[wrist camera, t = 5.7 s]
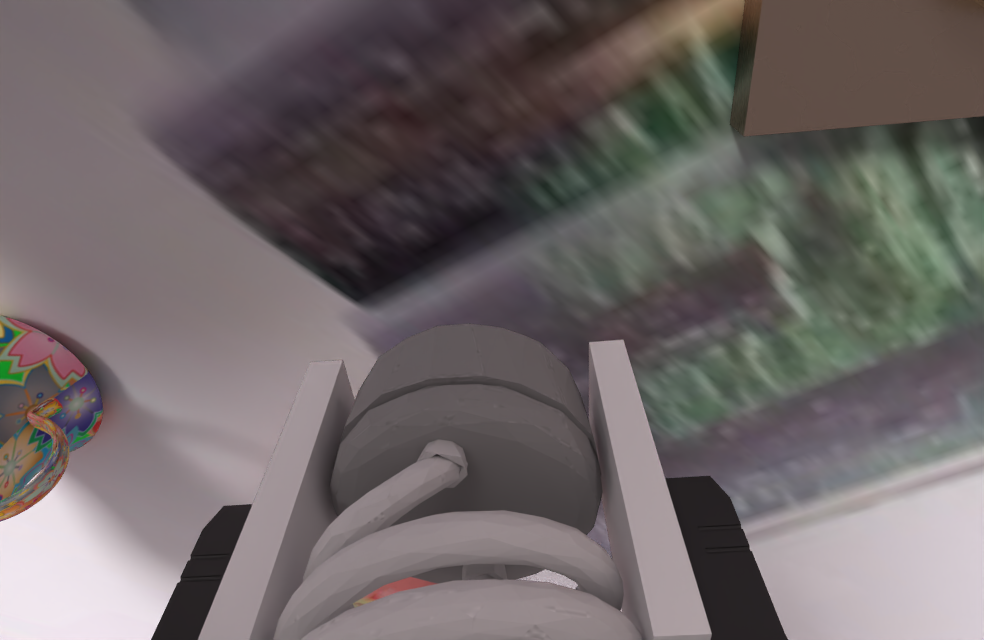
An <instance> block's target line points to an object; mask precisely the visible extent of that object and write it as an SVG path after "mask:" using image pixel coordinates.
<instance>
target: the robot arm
mask: <svg viewBox="0 0 984 640" xmlns="http://www.w3.org/2000/svg"><path fill="white" fill-rule="evenodd" d="M354 402H355V400H354V396H353V393H352V390H351V386H350V383H349V379H348V376H347V373H346V369H345V366H344V362H343V360H332V361H318V362H310V364H309V366H308V369H307V371H306V374H305V376H304V379H303V381H302V384H301V386H300V388H299V391H298V393H297V396H296V398H295V401H294V403H293V406H292V408H291V411H290V413H289V416H288V418H287V421H286V423H285V426H284V428H283V430H282V433H281V435H280V438H279V440H278V443H277V445H276V448H275V450H274V453H273V455H272V458H271V460H270V463H269V465H268V467H267V470H266V472H265V475H264V477H263V480H262V482H261V485H260V487H259V490H258V492H257V495H256V497H255V500H254V502H253V504H249V505H232V506H223V508H222V509H221V510H220V511H219V512H218V513H217V514H216V515H215V516H214V518H213V519H212V520H211V521H210V522H209V523H208V524H207V525H206V526H205V528H204V529H203V530H202V532H201V534H200V537H199V539H198V541H197V543H196V545H195V547H194V549H193V551H192V554H191V560H190V561H188V562H187V564H186V566H185V569H184V571H183V573H182V575H181V581H180V583H177V586H176V588H175V590H174V592H173V594H172V596H171V598H170V600H169V603H168V605H167V607H166V609H165V611H164V613H163V615H162V618H161V620H160V622H159V624H158V626H157V628H156V630H155V632H154V635H153V637H152V639H151V640H273V639H274V635H275V631H276V627H277V624H278V620H279V618H280V616H281V614H282V612H283V611H284V609H285V607H286V605H287V603H288V602H289V600H290V598H291V596H292V595H293V594H294V592H295V591H296V590H297V589H298V588H299V587H300V586H301V584H302V583H303V576H304V573H305V570H306V567H307V564H308V561H309V558H310V555H311V552H312V549H313V548H314V546H315V545H316V543H317V542H318V540H319V539H320V538H321V536H322V535H323V533H324V532H325V530H326V529H327V527H328V526H329V525H330V524H331V523H332V522H333V521H334V520H335V519H336V518H337V515H336V513H335V510H334V508H333V506H332V500H331V491H330V482H331V478H332V474H333V464H334V461H335V457H336V454H337V451H338V447H339V444H340V440H341V437H342V434H343V430H344V427H345V424H346V422H347V419H348V417H349V414H350V412H351V409H352V407H353V404H354ZM589 423H590V426H591V429H592V433H593V436H594V440H595V445H596V450H597V455H598V460H599V465H600V470H601V482H602V489H603V493H602V497H601V498H602V504H603V509H604V515H605V520H606V526H607V531H608V537H609V542H610V548H611V553H612V559H613V561H614V562H615V564H616V567H617V569H618V571H619V573H620V576H621V578H622V580H623V590H624V596H623V603H622V607H621V608H622V613H623V614H624V615H625V616H626V617H627V618H628V619H629V620H630V621H631V622H632V623H633V624H634V625H635V627H636V628H637V629H638V631H639V633H640V635H641V637H642V640H788V638H787V637H786V635H785V633H784V631H783V628H782V626H781V623H780V621H779V618H778V616H777V613H776V611H775V608H774V606H773V603H772V601H771V598H770V596H769V593H768V591H767V588H766V586H765V583H764V581H763V578H762V576H761V573H760V571H759V568H758V566H757V563H756V561H755V558H754V556H753V553H752V551H750V549H749V543H748V541H747V539H746V536H745V534H744V531H743V529H741V524H740V521H739V519H738V516H737V514H736V511H735V509H734V506H733V504H732V501H731V499H730V497H729V496H728V495H727V494H726V493H725V492H724V491H723V490H722V489H721V487H720V486H719V485H718V484H717V483H716V482H715V481H714V480H713V479H712V478H711V477H710V476H699V477H682V478H665V477H664V473H663V470H662V467H661V463H660V460H659V457H658V453H657V450H656V447H655V443H654V440H653V437H652V433H651V430H650V427H649V424H648V420H647V417H646V414H645V410H644V407H643V404H642V400H641V397H640V394H639V390H638V387H637V384H636V380H635V377H634V374H633V370H632V367H631V364H630V360H629V357H628V354H627V350H626V347H625V344H624V340H613V341H599V342H589Z"/></svg>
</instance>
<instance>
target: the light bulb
mask: <svg viewBox="0 0 984 640" xmlns="http://www.w3.org/2000/svg"><path fill="white" fill-rule="evenodd" d="M330 491H331V500H332V506H333V508H334V510H335V513H336V515H337V518H336V519H335V520H334V521H333V522H332V523H331V524H330V525H329V526H328V527H327V529H326V530H325V532H324V533H323V535H322V536H321V538H320V539H319V540H318V542H317V543H316V545H315V546H314V548H313V549H312V552H311V555H310V558H309V561H308V564H307V567H306V570H305V573H304V576H303V583H302V584H301V586H300V587H299V588H298V589H297V590H296V591H295V592H294V594H293V595H292V596H291V598H290V600H289V602H288V603H287V605H286V607H285V609H284V611H283V612H282V614H281V616H280V618H279V620H278V624H277V627H276V631H275V635H274V639H273V640H642V637H641V635H640V633H639V631H638V629H637V628H636V627H635V625H634V624H633V623H632V622H631V621H630V620H629V619H628V618H627V617H626V616H625V615H624V614H623V613H622V612H621V611H620V610H621V607H622V603H623V596H624V590H623V580H622V578H621V576H620V573H619V571H618V569H617V567H616V564H615V562H614V561H613V560H612V558H611V557H610V556H609V554H608V553H607V552H606V550H605V549H604V548H603V547H601V546H600V545H599V544H597V543H596V542H594V541H593V540H592V539H590V538H589V537H588V536H586V535H587V534H588V533H589V532H590V531H591V530H592V528H593V527H594V524H595V520H596V516H597V512H598V508H599V505H600V501H601V497H602V493H603V489H602V482H601V470H600V465H599V460H598V455H597V450H596V445H595V440H594V436H593V433H592V429H591V426H590V423H589V420H588V417H587V414H586V410H585V407H584V404H583V401H582V398H581V394H580V392H579V390H578V388H577V386H576V384H575V382H574V380H573V378H572V376H571V373H570V371H569V369H568V368H567V367H566V366H565V365H564V364H563V363H562V362H561V361H560V360H559V359H557V358H556V357H555V356H554V355H553V354H552V353H551V352H550V351H549V350H548V349H547V348H546V347H545V346H544V345H543V344H542V343H540V342H538V341H536V340H534V339H531V338H529V337H527V336H525V335H522V334H519V333H516V332H513V331H510V330H507V329H504V328H501V327H494V326H486V325H478V324H457V325H443V326H436V327H433V328H431V329H428V330H426V331H423V332H421V333H418V334H416V335H413V336H411V337H408V338H406V339H405V340H403V341H402V342H400V343H399V344H397V345H396V346H395V347H393V348H392V349H390V350H389V351H387V352H386V353H384V354H383V355H381V356H380V357H379V358H378V360H377V361H376V363H375V365H374V366H373V368H372V370H371V371H370V373H369V375H368V376H367V378H366V380H365V381H364V383H363V385H362V386H361V388H360V390H359V392H358V394H357V397H356V399H355V402H354V404H353V407H352V409H351V412H350V414H349V417H348V419H347V422H346V424H345V427H344V430H343V434H342V437H341V440H340V444H339V447H338V451H337V454H336V457H335V461H334V464H333V474H332V478H331V482H330ZM544 569H547V570H550V571H553V572H556V573H559V574H562V575H564V576H566V577H568V578H569V579H571V580H573V581H575V582H576V583H577V584H578V586H577V588H576V589H575V590H574V589H571V588H567V587H564V586H560V585H557V584H553V583H549V582H539V581H527V580H516V579H519V578H523V577H526V576H530V575H533V574H536V573H538V572H540V571H542V570H544ZM408 577H413V578H417V579H421V580H425V581H429V582H432V583H436V584H434V585H429V586H424V587H419V588H414V589H409V590H404V591H399V592H397V593H394V594H391V595H388V596H386V597H383V598H380V599H377V600H375V601H372V602H369V603H366V604H364V605H361V606H358V607H354V605H353V603H355V602H356V601H358V600H360V599H361V598H363V597H365V596H367V595H368V594H370V593H372V592H373V591H375V590H377V589H379V588H380V587H382V586H384V585H386V584H389V583H393V582H396V581H399V580H402V579H405V578H408Z"/></svg>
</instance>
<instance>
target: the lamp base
mask: <svg viewBox="0 0 984 640" xmlns="http://www.w3.org/2000/svg"><path fill="white" fill-rule="evenodd" d="M980 116H984V0H745V6H744V14H743V22H742V30H741V39H740V47H739V55H738V63H737V71H736V79H735V87H734V96H733V104H732V112H731V120H730V125H731V126H732V127H733V128H734V129H736V130H737V131H738V132H739V133H740V134H741V135H743V136H755V135H767V134H779V133H791V132H803V131H814V130H826V129H838V128H850V127H862V126H874V125H886V124H897V123H909V122H921V121H933V120H945V119H957V118H968V117H980Z"/></svg>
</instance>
